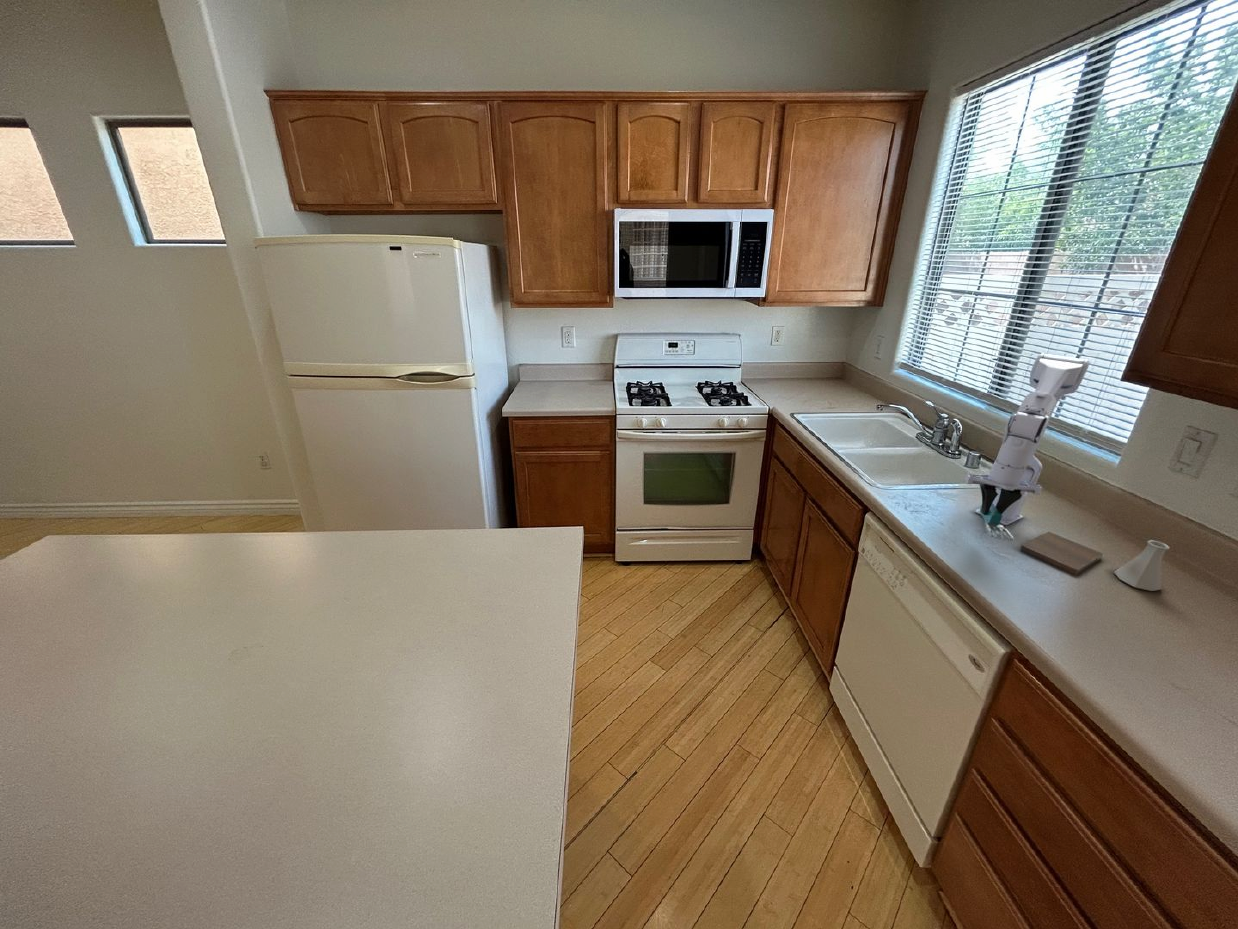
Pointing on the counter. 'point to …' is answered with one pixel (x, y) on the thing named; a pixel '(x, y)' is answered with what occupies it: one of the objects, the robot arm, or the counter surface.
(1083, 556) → the cutting board
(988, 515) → the fork
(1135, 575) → the flask
